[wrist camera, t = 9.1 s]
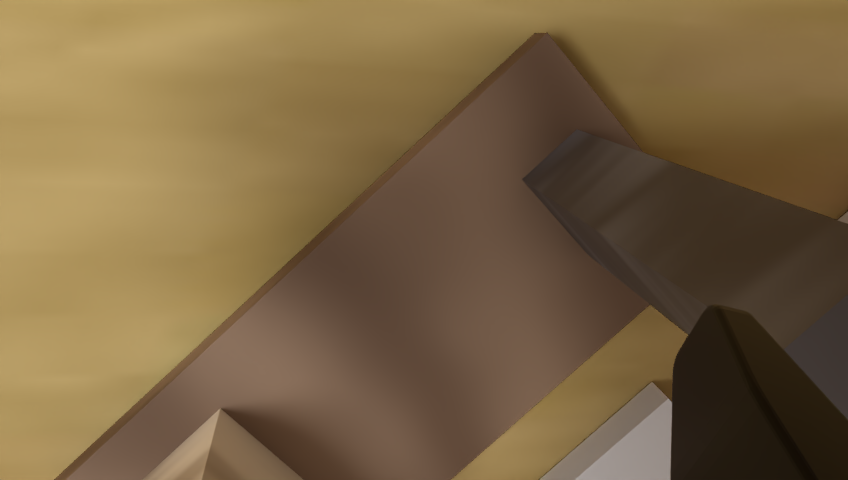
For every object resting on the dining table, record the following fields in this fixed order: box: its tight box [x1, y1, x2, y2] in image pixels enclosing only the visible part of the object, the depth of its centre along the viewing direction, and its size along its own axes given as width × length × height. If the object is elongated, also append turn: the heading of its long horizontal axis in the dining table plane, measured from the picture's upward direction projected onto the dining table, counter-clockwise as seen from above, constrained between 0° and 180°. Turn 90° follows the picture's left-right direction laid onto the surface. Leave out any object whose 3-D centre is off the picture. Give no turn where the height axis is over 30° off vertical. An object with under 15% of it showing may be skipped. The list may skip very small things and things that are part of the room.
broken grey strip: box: [539, 212, 848, 480], centre depth 25 cm, size 19×8×1 cm, turn 132°
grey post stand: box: [54, 33, 848, 480], centre depth 16 cm, size 19×8×13 cm, turn 132°
